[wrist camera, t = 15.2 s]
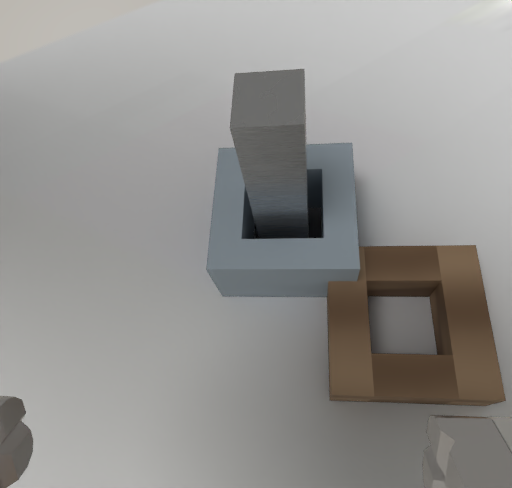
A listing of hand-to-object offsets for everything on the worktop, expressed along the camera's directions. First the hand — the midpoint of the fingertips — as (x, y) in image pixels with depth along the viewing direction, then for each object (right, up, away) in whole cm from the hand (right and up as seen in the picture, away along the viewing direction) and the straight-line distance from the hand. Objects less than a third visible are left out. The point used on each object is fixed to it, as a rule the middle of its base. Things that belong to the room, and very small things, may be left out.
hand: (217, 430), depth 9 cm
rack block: (+3, +4, +23) cm, 23 cm away
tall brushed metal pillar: (+3, +4, +23) cm, 23 cm away
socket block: (+10, -2, +19) cm, 22 cm away
